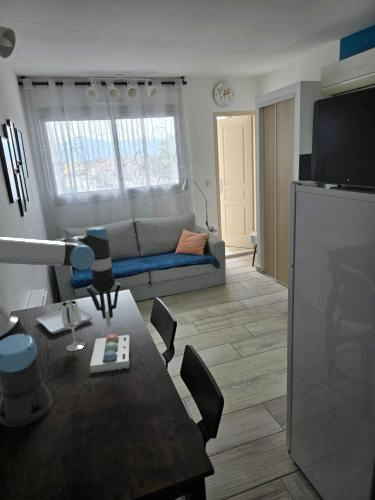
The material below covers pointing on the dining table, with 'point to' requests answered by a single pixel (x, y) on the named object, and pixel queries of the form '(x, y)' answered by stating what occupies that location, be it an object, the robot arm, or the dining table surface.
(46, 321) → the salad plate
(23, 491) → the dining table surface
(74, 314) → the wineglass
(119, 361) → the button panel
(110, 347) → the sage button
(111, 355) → the slate button
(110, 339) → the terracotta button
